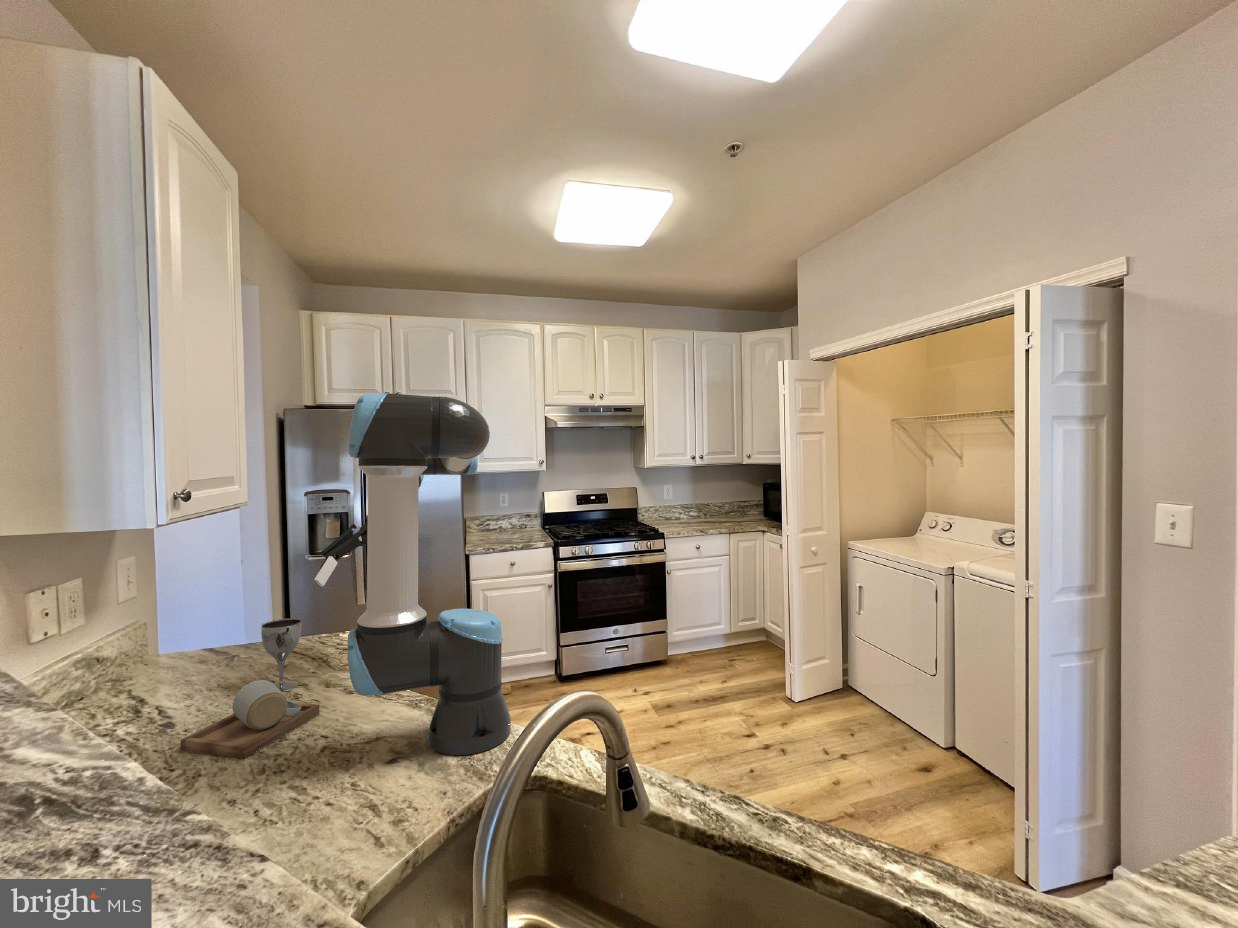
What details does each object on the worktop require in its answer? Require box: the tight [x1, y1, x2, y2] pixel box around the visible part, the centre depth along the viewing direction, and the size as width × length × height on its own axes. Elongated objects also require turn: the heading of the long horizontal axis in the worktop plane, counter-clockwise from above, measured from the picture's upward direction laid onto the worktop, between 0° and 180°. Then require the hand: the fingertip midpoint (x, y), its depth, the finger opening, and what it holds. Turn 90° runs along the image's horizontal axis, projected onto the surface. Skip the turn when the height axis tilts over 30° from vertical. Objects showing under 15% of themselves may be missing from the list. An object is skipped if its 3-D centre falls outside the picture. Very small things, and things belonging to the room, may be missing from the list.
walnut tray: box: [180, 702, 321, 760], centre depth 99 cm, size 14×17×2 cm
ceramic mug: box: [232, 679, 301, 730], centre depth 101 cm, size 11×8×8 cm
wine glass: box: [260, 617, 302, 693], centre depth 121 cm, size 8×8×15 cm
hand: (345, 584), depth 115 cm, fingers open, 13 cm apart
